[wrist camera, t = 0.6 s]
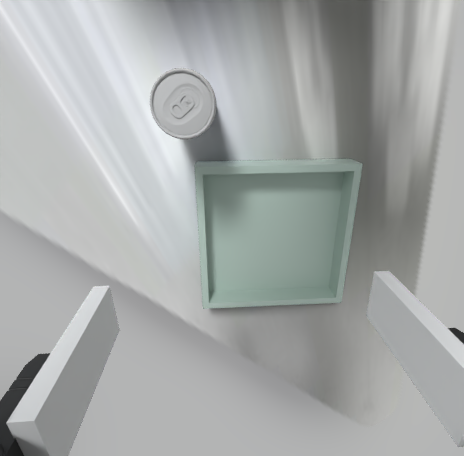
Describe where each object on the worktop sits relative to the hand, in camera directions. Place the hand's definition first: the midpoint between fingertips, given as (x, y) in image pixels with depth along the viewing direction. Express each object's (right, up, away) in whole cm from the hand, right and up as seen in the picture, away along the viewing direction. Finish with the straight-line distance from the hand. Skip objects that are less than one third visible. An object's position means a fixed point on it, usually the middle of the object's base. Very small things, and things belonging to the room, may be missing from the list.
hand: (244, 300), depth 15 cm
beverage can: (-5, +17, +17) cm, 25 cm away
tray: (+4, +3, +23) cm, 24 cm away
